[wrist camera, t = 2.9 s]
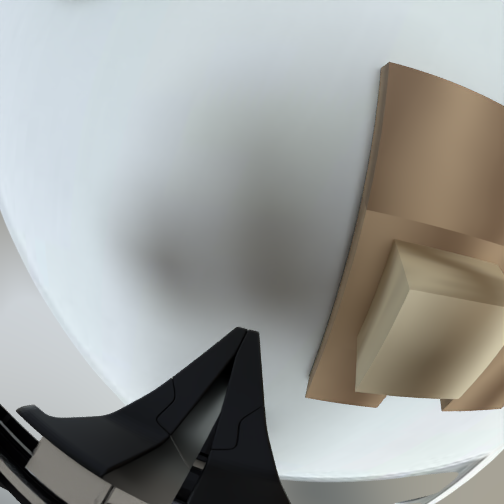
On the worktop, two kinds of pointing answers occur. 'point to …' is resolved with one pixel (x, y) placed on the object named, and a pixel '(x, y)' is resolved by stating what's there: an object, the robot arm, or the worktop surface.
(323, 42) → the worktop surface
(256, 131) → the worktop surface
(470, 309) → the birch block
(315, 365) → the board
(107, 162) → the worktop surface
